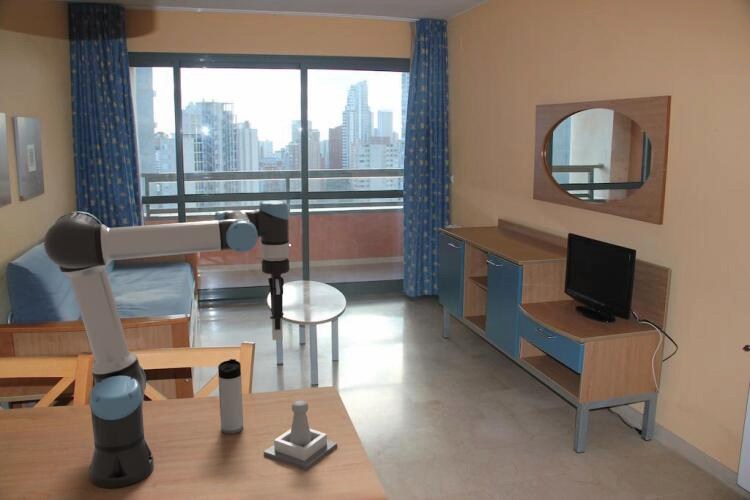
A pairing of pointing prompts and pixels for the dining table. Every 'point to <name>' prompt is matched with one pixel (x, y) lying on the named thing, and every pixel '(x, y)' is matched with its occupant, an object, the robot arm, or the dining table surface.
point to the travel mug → (230, 396)
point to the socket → (301, 450)
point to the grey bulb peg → (300, 424)
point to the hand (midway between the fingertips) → (277, 338)
